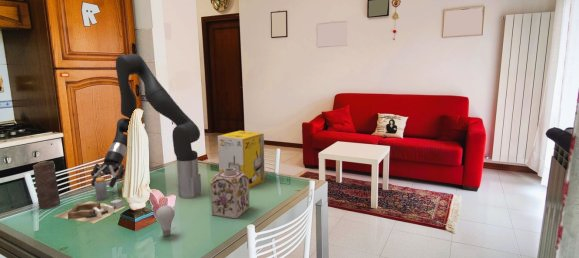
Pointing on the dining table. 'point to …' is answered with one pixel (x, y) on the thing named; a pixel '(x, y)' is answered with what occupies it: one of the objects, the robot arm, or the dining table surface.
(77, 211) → the holder
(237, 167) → the packaging box
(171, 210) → the lightbulb
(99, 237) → the dining table surface
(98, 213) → the cable route
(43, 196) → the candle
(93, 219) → the board
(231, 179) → the decorative jar
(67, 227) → the dining table surface
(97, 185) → the connector
